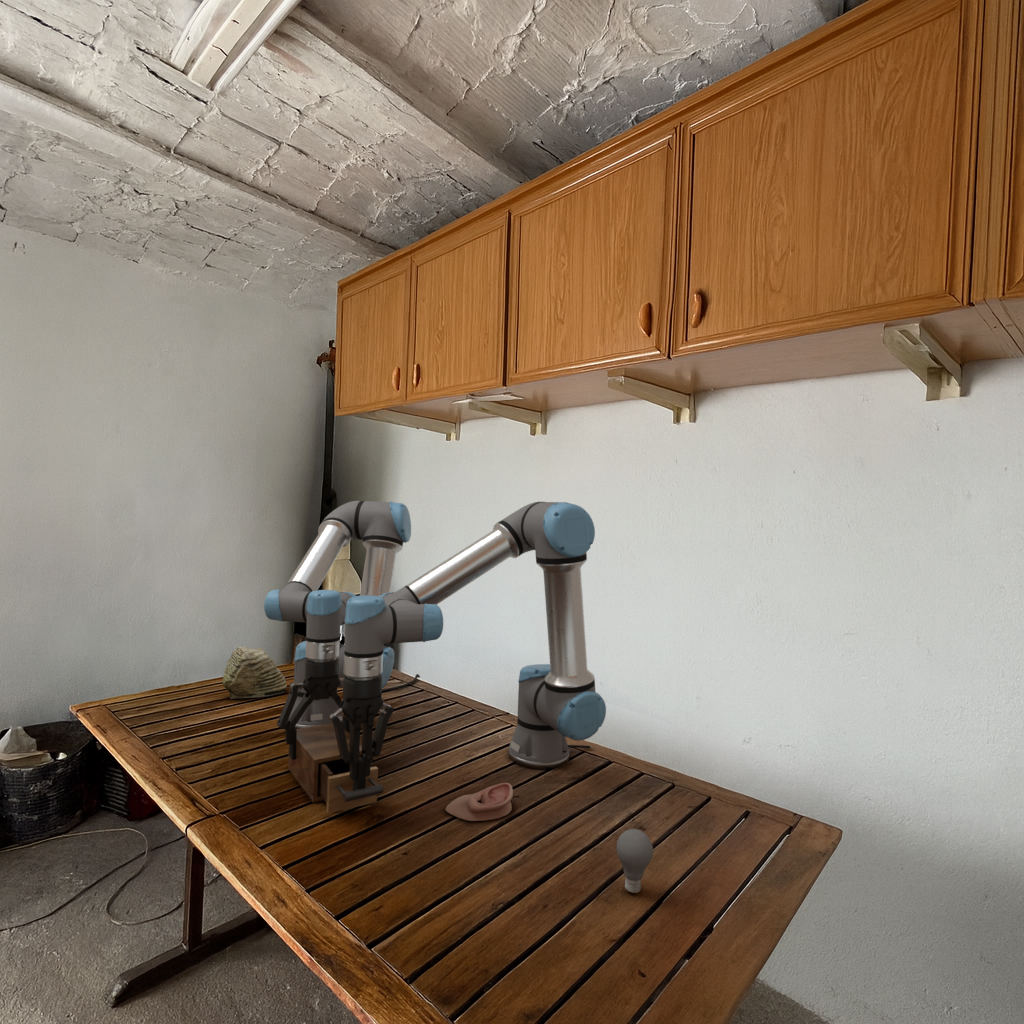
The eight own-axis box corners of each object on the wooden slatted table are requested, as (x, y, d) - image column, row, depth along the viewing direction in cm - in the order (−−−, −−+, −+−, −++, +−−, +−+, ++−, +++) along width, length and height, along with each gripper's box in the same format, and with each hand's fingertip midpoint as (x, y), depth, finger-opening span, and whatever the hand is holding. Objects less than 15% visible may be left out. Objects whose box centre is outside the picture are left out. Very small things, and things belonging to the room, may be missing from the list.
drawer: (388, 814, 125) (389, 779, 125) (338, 827, 120) (339, 790, 120) (346, 769, 145) (347, 739, 145) (302, 779, 140) (303, 747, 139)
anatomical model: (441, 797, 127) (457, 773, 138) (440, 817, 127) (456, 791, 138) (505, 806, 124) (517, 781, 136) (504, 826, 124) (516, 800, 136)
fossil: (218, 695, 195) (220, 647, 195) (278, 685, 208) (279, 640, 207) (228, 703, 189) (230, 653, 188) (289, 692, 201) (290, 645, 201)
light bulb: (610, 879, 108) (613, 822, 108) (644, 879, 109) (647, 822, 109) (619, 902, 102) (622, 840, 102) (655, 901, 103) (658, 840, 103)
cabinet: (365, 790, 137) (366, 749, 137) (312, 802, 131) (314, 759, 131) (335, 758, 153) (337, 722, 153) (287, 768, 147) (289, 730, 147)
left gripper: (273, 668, 136) (269, 768, 136) (377, 656, 149) (374, 748, 150) (264, 660, 142) (261, 756, 142) (365, 649, 156) (362, 737, 156)
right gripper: (336, 684, 118) (332, 809, 119) (401, 675, 125) (397, 793, 126) (324, 674, 124) (320, 793, 125) (386, 666, 131) (382, 778, 132)
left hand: (319, 752), depth 146 cm, fingers closed on cabinet, 11 cm apart
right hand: (359, 793), depth 125 cm, fingers closed
